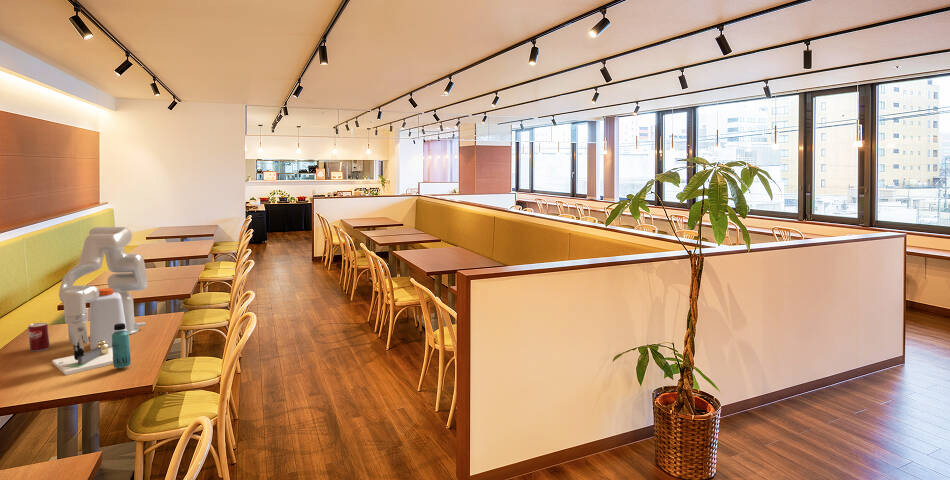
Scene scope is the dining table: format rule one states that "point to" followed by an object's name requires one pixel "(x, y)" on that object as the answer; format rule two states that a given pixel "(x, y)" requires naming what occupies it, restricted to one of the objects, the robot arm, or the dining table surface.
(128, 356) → the beverage bottle
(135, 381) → the dining table surface
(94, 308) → the plastic bottle
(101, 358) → the dial plate
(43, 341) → the soda can
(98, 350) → the lever
